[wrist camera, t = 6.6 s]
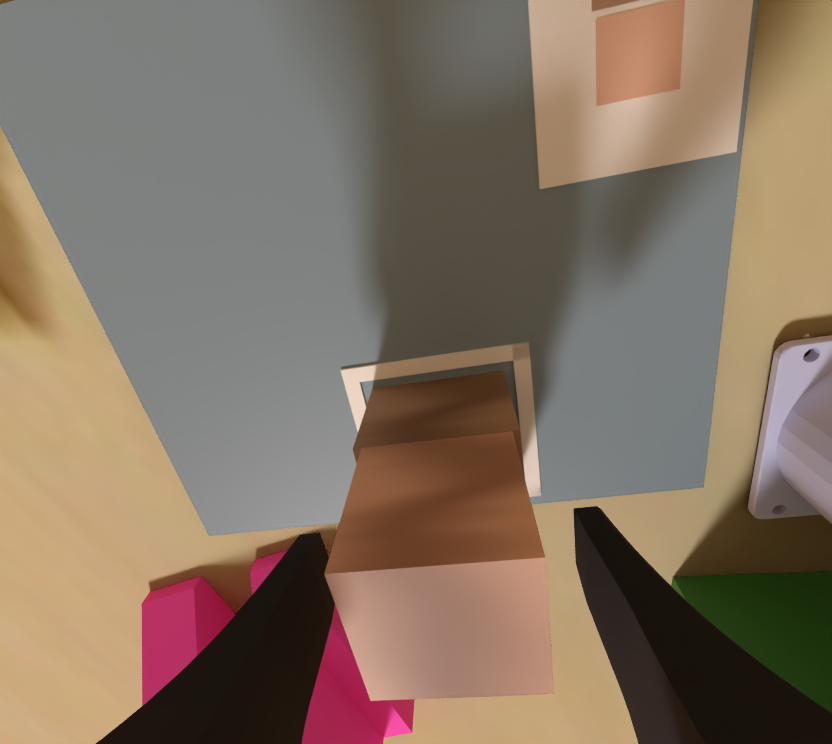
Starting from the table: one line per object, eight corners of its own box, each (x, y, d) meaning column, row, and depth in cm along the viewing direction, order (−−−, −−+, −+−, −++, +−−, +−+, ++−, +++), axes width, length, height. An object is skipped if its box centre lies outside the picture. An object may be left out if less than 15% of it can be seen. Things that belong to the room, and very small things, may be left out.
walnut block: (502, 370, 16) (520, 429, 13) (514, 477, 18) (532, 554, 15) (372, 388, 17) (352, 449, 13) (397, 490, 19) (386, 567, 15)
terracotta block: (512, 430, 13) (544, 557, 8) (523, 545, 14) (554, 693, 10) (361, 447, 13) (324, 574, 9) (390, 555, 15) (370, 700, 11)
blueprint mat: (768, -206, 10) (789, -230, 9) (697, 479, 18) (705, 490, 18) (-36, 24, 13) (-60, 17, 12) (213, 528, 21) (207, 538, 21)
